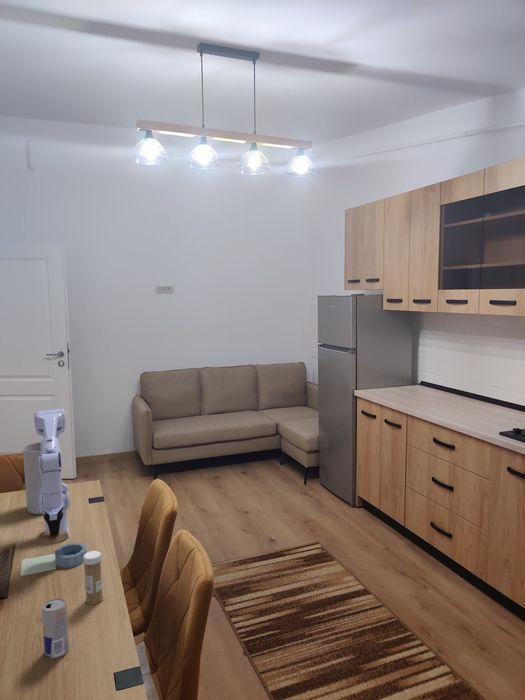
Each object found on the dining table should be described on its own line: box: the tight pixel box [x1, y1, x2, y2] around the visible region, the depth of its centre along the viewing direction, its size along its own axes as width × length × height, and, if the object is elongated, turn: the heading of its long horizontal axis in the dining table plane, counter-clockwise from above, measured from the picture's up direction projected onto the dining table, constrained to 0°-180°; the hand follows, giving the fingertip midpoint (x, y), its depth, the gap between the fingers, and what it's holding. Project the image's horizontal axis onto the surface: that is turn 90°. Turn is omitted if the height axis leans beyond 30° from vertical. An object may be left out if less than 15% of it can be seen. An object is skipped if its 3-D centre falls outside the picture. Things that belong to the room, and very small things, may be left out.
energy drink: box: [41, 598, 70, 660], centre depth 124 cm, size 5×5×12 cm
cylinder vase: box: [22, 441, 44, 515], centre depth 204 cm, size 12×12×25 cm
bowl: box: [54, 542, 88, 569], centre depth 166 cm, size 9×9×4 cm
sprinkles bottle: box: [83, 550, 104, 605], centre depth 144 cm, size 5×5×14 cm
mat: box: [20, 553, 57, 577], centre depth 164 cm, size 10×10×1 cm
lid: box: [39, 530, 69, 546], centre depth 164 cm, size 8×8×4 cm
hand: (54, 532), depth 164 cm, fingers closed on lid, 3 cm apart
